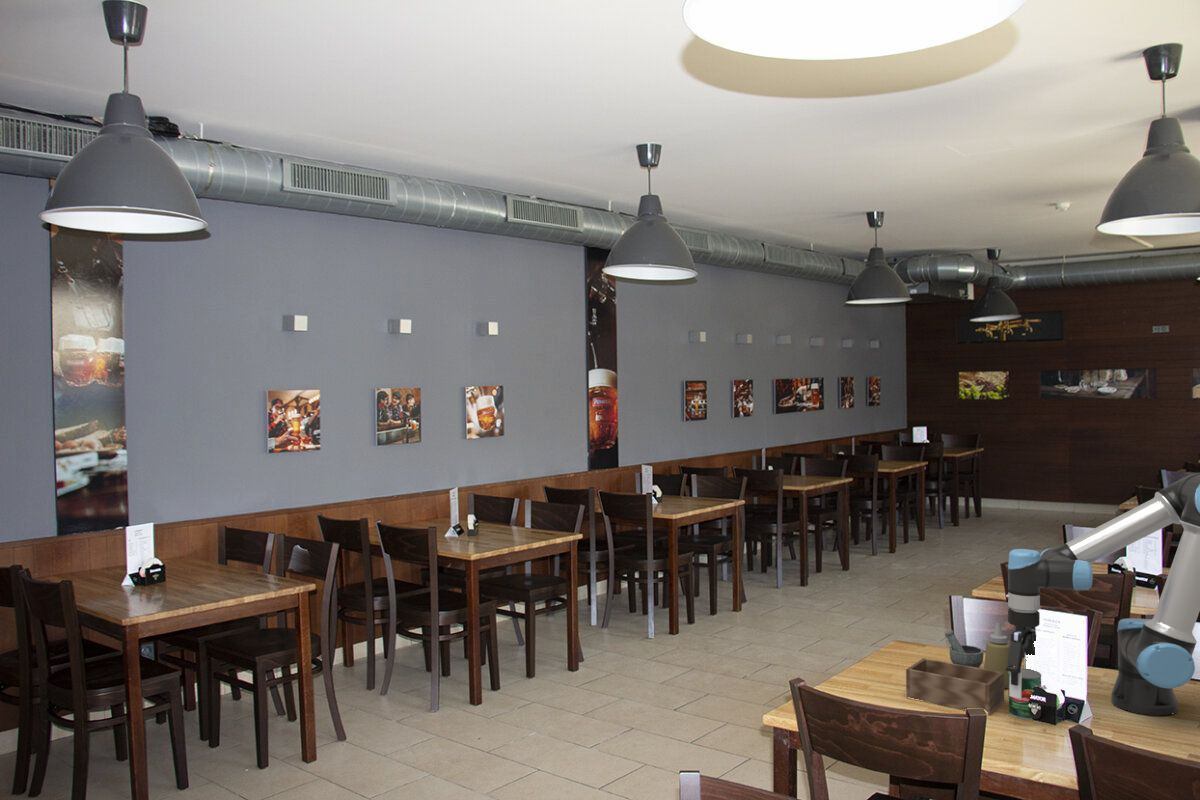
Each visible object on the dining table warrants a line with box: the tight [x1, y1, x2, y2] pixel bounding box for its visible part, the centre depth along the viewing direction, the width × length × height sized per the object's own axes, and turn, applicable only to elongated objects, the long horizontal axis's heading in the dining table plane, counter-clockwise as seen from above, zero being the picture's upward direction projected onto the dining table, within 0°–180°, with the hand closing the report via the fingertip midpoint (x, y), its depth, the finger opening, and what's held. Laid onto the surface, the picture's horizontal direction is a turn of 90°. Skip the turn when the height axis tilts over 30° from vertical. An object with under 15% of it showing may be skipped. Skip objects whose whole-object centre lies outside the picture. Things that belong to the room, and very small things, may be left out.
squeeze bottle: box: [983, 622, 1010, 690], centre depth 257 cm, size 8×8×18 cm
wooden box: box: [905, 657, 1005, 717], centre depth 246 cm, size 22×13×8 cm, turn 50°
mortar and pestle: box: [944, 629, 984, 668], centre depth 270 cm, size 11×9×12 cm
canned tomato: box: [1007, 667, 1042, 721], centre depth 235 cm, size 8×8×11 cm
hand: (1022, 690), depth 235 cm, fingers open, 13 cm apart
